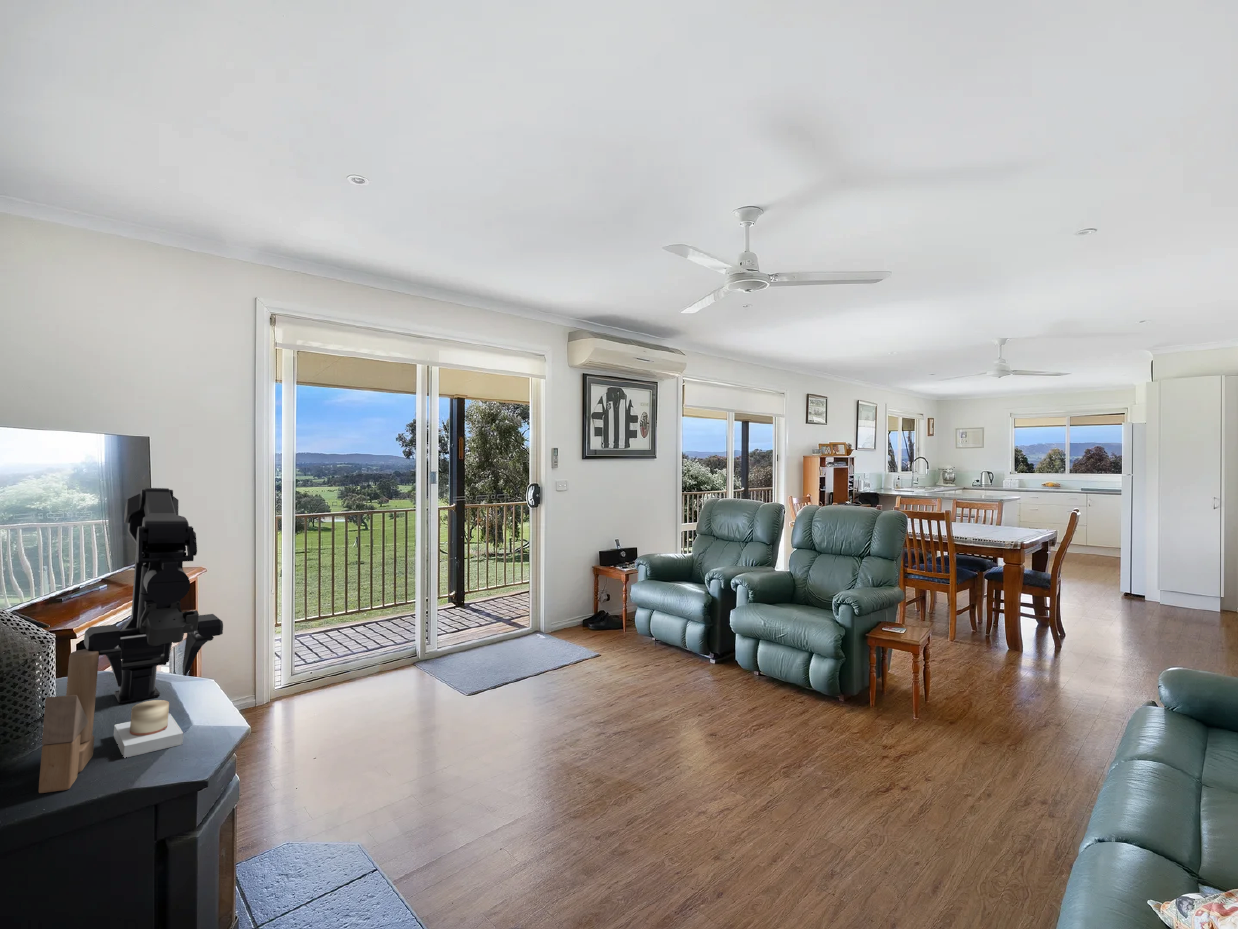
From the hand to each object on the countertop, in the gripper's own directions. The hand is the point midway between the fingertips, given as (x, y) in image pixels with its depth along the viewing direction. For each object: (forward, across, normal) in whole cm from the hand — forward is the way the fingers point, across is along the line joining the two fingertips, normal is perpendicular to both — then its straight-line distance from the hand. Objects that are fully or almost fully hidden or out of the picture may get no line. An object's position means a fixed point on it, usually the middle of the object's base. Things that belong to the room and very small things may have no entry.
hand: (153, 680), depth 105 cm
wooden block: (+11, -11, -6) cm, 17 cm away
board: (+10, 0, 0) cm, 11 cm away
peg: (+10, 0, 0) cm, 10 cm away
